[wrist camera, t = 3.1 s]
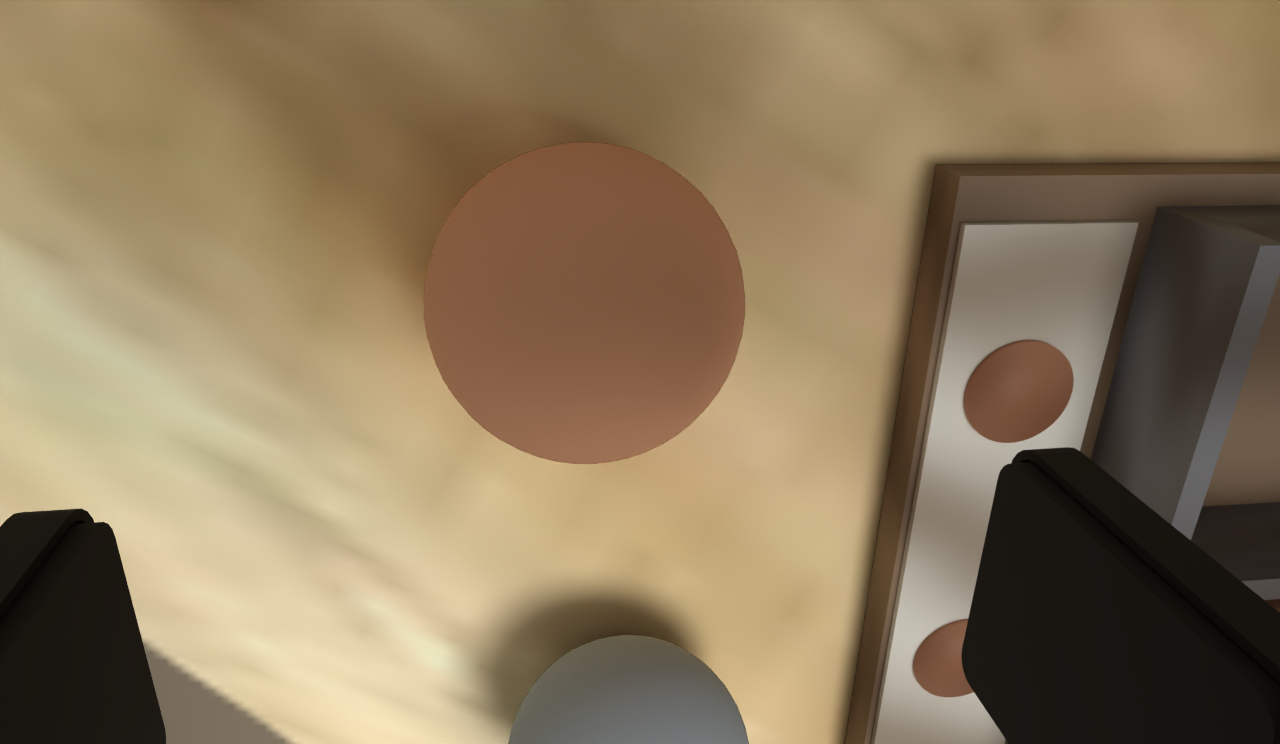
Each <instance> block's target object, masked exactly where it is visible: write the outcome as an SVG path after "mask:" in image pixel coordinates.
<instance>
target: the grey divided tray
mask: <svg viewBox="0 0 1280 744" xmlns="http://www.w3.org/2000/svg"><path fill="white" fill-rule="evenodd" d="M1064 447H1070V448H1075V449H1077V450H1079V451H1081V452H1082V453H1083V454H1084V455H1086V456H1087V457H1088V458H1089V459H1091V460H1092V461H1093V462H1094V463H1096V464H1097V465H1098V466H1099V467H1100V468H1102V469H1103V470H1104V471H1105V472H1107V473H1108V474H1109V475H1110V476H1112V477H1113V478H1114V479H1115V480H1117V481H1118V482H1119V483H1120V484H1121V485H1123V486H1124V487H1125V488H1126V489H1128V490H1129V491H1130V492H1131V493H1133V494H1134V495H1135V496H1136V497H1138V498H1139V499H1140V500H1141V501H1142V502H1144V503H1145V504H1146V505H1147V506H1149V507H1150V508H1151V509H1152V510H1154V511H1155V512H1156V513H1157V514H1159V515H1160V516H1161V517H1162V518H1163V519H1165V520H1166V521H1167V522H1168V523H1170V524H1171V525H1172V526H1173V527H1175V528H1176V529H1177V530H1178V531H1180V532H1181V533H1182V534H1183V535H1184V536H1186V537H1187V538H1188V539H1189V540H1191V541H1192V542H1193V543H1194V544H1196V545H1197V546H1198V547H1199V548H1201V549H1202V550H1203V551H1204V552H1205V553H1207V554H1208V555H1209V556H1210V557H1212V558H1213V559H1214V560H1215V561H1217V562H1218V563H1219V564H1220V565H1222V566H1223V567H1224V568H1225V569H1226V570H1228V571H1229V572H1230V573H1231V574H1233V575H1234V576H1235V577H1236V578H1238V579H1239V580H1240V581H1241V582H1243V583H1244V584H1245V585H1246V586H1247V587H1249V588H1250V589H1251V590H1252V591H1254V592H1255V593H1256V594H1257V595H1259V596H1260V597H1261V598H1262V599H1264V600H1272V599H1280V163H1117V164H945V165H936V167H935V174H934V180H933V186H932V193H931V199H930V205H929V212H928V218H927V224H926V231H925V237H924V244H923V250H922V256H921V263H920V269H919V275H918V282H917V288H916V294H915V301H914V307H913V313H912V320H911V326H910V333H909V339H908V345H907V352H906V358H905V364H904V371H903V377H902V383H901V390H900V396H899V403H898V409H897V415H896V422H895V428H894V434H893V441H892V447H891V453H890V460H889V466H888V472H887V479H886V485H885V492H884V498H883V504H882V511H881V517H880V523H879V530H878V536H877V542H876V549H875V555H874V562H873V568H872V574H871V581H870V587H869V593H868V600H867V606H866V612H865V619H864V625H863V632H862V638H861V644H860V651H859V657H858V663H857V670H856V676H855V682H854V689H853V695H852V701H851V708H850V714H849V721H848V727H847V733H846V740H845V744H1009V743H1008V742H1007V740H1006V739H1005V737H1004V736H1003V735H1002V733H1001V732H1000V730H999V729H998V727H997V726H996V724H995V723H994V721H993V720H992V718H991V717H990V715H989V714H988V712H987V711H986V709H985V708H984V706H983V705H982V703H981V702H980V700H979V699H978V697H977V696H976V694H975V693H974V691H973V690H972V689H971V687H970V685H969V684H968V682H967V680H966V677H965V674H964V671H963V667H962V658H961V654H962V646H963V642H964V637H965V632H966V627H967V623H968V618H969V613H970V608H971V604H972V599H973V594H974V589H975V584H976V580H977V575H978V570H979V565H980V561H981V556H982V551H983V546H984V542H985V537H986V532H987V527H988V523H989V518H990V513H991V508H992V504H993V499H994V494H995V489H996V484H997V480H998V476H999V473H1000V470H1001V469H1002V468H1003V466H1005V465H1007V464H1011V463H1012V460H1013V458H1014V457H1015V456H1016V454H1017V453H1019V452H1020V451H1022V450H1031V449H1047V448H1064Z"/></svg>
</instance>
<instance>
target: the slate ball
mask: <svg viewBox="0 0 1280 744" xmlns="http://www.w3.org/2000/svg"><path fill="white" fill-rule="evenodd" d="M508 744H749V742H748V737H747V733H746V728H745V725H744V723H743V720H742V717H741V715H740V712H739V710H738V707H737V705H736V703H735V701H734V700H733V698H732V696H731V695H730V693H729V691H728V690H727V688H726V686H725V685H724V684H723V682H722V681H721V680H720V679H719V678H718V677H717V675H716V674H715V673H714V672H713V671H712V670H711V669H710V668H709V667H708V666H707V665H706V664H705V663H703V662H702V661H701V660H700V659H698V658H697V657H696V656H694V655H693V654H691V653H690V652H688V651H687V650H685V649H683V648H681V647H679V646H677V645H675V644H672V643H670V642H667V641H664V640H661V639H658V638H654V637H649V636H641V635H618V636H610V637H606V638H601V639H597V640H594V641H591V642H588V643H586V644H583V645H581V646H579V647H577V648H575V649H573V650H571V651H570V652H568V653H566V654H565V655H563V656H562V657H561V658H560V659H558V660H557V661H556V662H554V663H553V664H552V665H551V666H550V667H549V668H548V669H547V670H546V671H545V672H544V673H543V674H542V675H541V676H540V677H539V678H538V680H537V681H536V682H535V683H534V685H533V686H532V688H531V689H530V690H529V692H528V693H527V695H526V697H525V699H524V700H523V702H522V704H521V706H520V708H519V711H518V713H517V715H516V718H515V720H514V723H513V726H512V730H511V734H510V738H509V743H508Z"/></svg>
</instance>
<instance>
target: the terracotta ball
mask: <svg viewBox="0 0 1280 744" xmlns="http://www.w3.org/2000/svg"><path fill="white" fill-rule="evenodd" d="M744 318H745V292H744V284H743V277H742V269H741V266H740V262H739V259H738V255H737V251H736V249H735V247H734V244H733V242H732V240H731V237H730V235H729V233H728V231H727V229H726V227H725V225H724V224H723V222H722V220H721V219H720V217H719V215H718V214H717V212H716V211H715V209H714V208H713V206H712V205H711V204H710V203H709V202H708V200H707V199H706V198H705V197H704V196H703V194H702V193H701V192H700V191H699V190H698V189H696V188H695V187H694V186H693V185H692V184H691V183H690V182H689V181H688V180H687V179H685V178H684V177H683V176H681V175H680V174H679V173H677V172H676V171H674V170H673V169H671V168H670V167H668V166H667V165H666V164H664V163H662V162H660V161H658V160H656V159H654V158H652V157H650V156H648V155H646V154H643V153H640V152H637V151H634V150H631V149H629V148H625V147H620V146H615V145H610V144H605V143H590V142H578V143H564V144H558V145H553V146H548V147H543V148H539V149H536V150H534V151H531V152H528V153H525V154H522V155H520V156H518V157H516V158H514V159H512V160H510V161H508V162H506V163H504V164H502V165H500V166H499V167H497V168H496V169H494V170H493V171H492V172H490V173H489V174H487V175H486V176H484V177H483V178H482V179H481V180H480V181H479V182H478V183H476V184H475V185H474V186H473V187H472V188H471V189H470V190H469V191H468V192H467V193H466V194H465V195H464V197H463V198H462V199H461V200H460V201H459V203H458V204H457V205H456V206H455V208H454V209H453V211H452V212H451V214H450V216H449V217H448V219H447V220H446V222H445V224H444V225H443V227H442V229H441V231H440V233H439V236H438V238H437V240H436V242H435V245H434V247H433V249H432V253H431V256H430V260H429V264H428V267H427V273H426V280H425V288H424V319H425V325H426V332H427V337H428V341H429V344H430V347H431V350H432V354H433V357H434V360H435V363H436V365H437V367H438V369H439V372H440V374H441V376H442V378H443V380H444V382H445V383H446V385H447V386H448V388H449V390H450V391H451V393H452V394H453V396H454V397H455V398H456V400H457V401H458V402H459V403H460V404H461V405H462V407H463V408H464V409H465V410H466V411H467V412H468V414H469V415H470V416H471V417H472V418H473V419H474V420H475V421H476V422H478V423H479V424H480V425H481V426H482V427H483V428H484V429H485V430H487V431H488V432H490V433H491V434H493V435H494V436H496V437H497V438H498V439H500V440H502V441H503V442H505V443H507V444H509V445H511V446H513V447H515V448H517V449H519V450H521V451H524V452H526V453H529V454H532V455H534V456H537V457H540V458H544V459H548V460H553V461H557V462H565V463H573V464H596V463H606V462H613V461H618V460H622V459H627V458H630V457H633V456H636V455H639V454H642V453H645V452H647V451H649V450H651V449H653V448H656V447H658V446H660V445H662V444H664V443H665V442H667V441H668V440H670V439H672V438H673V437H675V436H676V435H678V434H679V433H680V432H682V431H683V430H684V429H685V428H687V427H688V426H689V425H690V424H691V423H692V422H693V421H694V420H695V419H696V418H697V417H698V416H699V415H700V414H701V413H702V412H703V411H704V410H705V409H706V408H707V407H708V405H709V404H710V403H711V402H712V400H713V399H714V398H715V396H716V395H717V394H718V392H719V391H720V389H721V387H722V386H723V384H724V382H725V381H726V379H727V377H728V375H729V373H730V370H731V368H732V366H733V363H734V361H735V358H736V355H737V351H738V348H739V344H740V341H741V337H742V332H743V325H744Z"/></svg>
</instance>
